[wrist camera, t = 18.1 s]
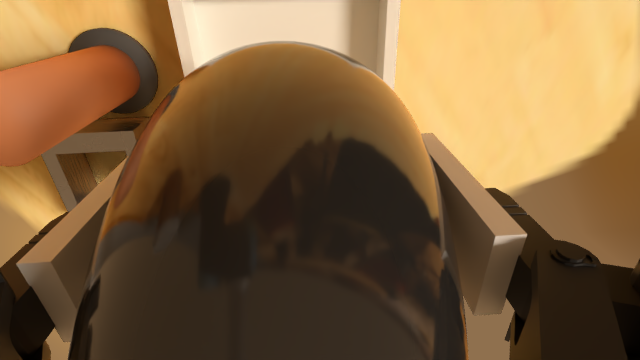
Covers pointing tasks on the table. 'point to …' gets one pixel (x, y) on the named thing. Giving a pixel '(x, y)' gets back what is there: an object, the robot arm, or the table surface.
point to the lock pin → (60, 98)
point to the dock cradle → (289, 28)
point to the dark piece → (275, 223)
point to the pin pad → (134, 52)
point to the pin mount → (96, 137)
